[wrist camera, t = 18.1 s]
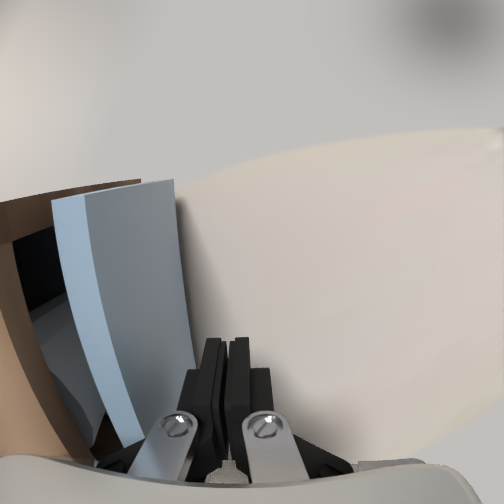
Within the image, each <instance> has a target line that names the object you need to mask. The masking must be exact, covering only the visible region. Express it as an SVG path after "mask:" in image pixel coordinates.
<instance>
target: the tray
mask: <svg viewBox="0 0 504 504" xmlns="http://www.w3.org/2000/svg"><path fill="white" fill-rule="evenodd" d="M51 202H52V211H53V219H54V226H51V227H48V228H45V229H43V230H40V231H37V232H35V233H32V234H30V235H27V236H24V237H22V238H19V239H17V240H14V241H12V245H13V251H14V256H15V261H16V266H17V270H18V274H19V279H20V283H21V287H22V291H23V294H24V298H25V302H26V305H27V309H28V312H31V311H32V310H34V309H36V308H38V307H39V306H41V305H43V304H45V303H46V302H48V301H50V300H52V299H53V298H55V297H57V296H59V295H60V294H62V293H64V292H66V291H67V294H68V298H69V302H70V306H71V310H72V314H73V317H74V321H75V324H76V328H77V331H78V334H79V338H80V341H81V344H82V347H83V350H84V353H85V356H86V359H87V362H88V365H89V368H90V370H91V373H92V376H93V378H94V381H95V384H96V386H97V389H98V391H99V394H100V396H101V399H102V401H103V403H104V406H105V408H106V410H105V413H104V415H109V417H110V419H111V422H112V424H113V426H114V428H115V430H116V432H117V434H118V437H119V439H120V441H121V443H122V445H123V447H124V448H126V447H128V446H130V445H132V444H134V443H136V442H138V441H140V440H142V439H144V438H146V437H147V436H148V434H149V432H150V431H151V429H152V427H153V425H154V423H155V421H156V420H157V419H158V418H159V417H160V416H161V415H163V414H165V413H167V412H170V411H176V409H177V405H178V402H179V398H180V394H181V391H182V387H183V383H184V380H185V376H186V373H187V370H188V369H196V364H195V359H194V353H193V347H192V340H191V334H190V327H189V321H188V314H187V307H186V299H185V292H184V284H183V276H182V267H181V259H180V249H179V240H178V230H177V219H176V207H175V194H174V181H173V179H171V180H161V181H152V182H145V183H139V184H133V185H127V186H121V187H115V188H110V189H104V190H99V191H94V192H88V193H83V194H79V195H74V196H69V197H64V198H60V199H55V200H51Z"/></svg>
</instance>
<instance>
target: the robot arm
mask: <svg viewBox="0 0 504 504" xmlns="http://www.w3.org/2000/svg"><path fill="white" fill-rule="evenodd" d="M229 444H230V450H231V457H232V460H235V461H236V467H237V469H239V470H240V471H242V472H243V473H244V474H246V475H247V479H248V484H217V483H209V482H210V478H211V474H210V473H211V472H213V471H214V470H216V469H217V468H222V460H228V449H229ZM0 504H482V502H481V500H480V499H479V497H478V495H477V494H476V492H475V491H474V489H473V488H472V487H471V485H470V484H469V483H468V482H467V480H466V479H465V478H464V477H463V476H462V475H461V474H460V473H459V472H458V471H456V470H455V469H453V468H450V467H448V466H444V465H436V464H426V463H425V462H423V461H422V460H419V459H413V458H409V459H398V460H382V461H359V462H358V464H349V463H348V462H347V461H345V460H343V459H341V458H339V457H337V456H335V455H333V454H331V453H329V452H327V451H325V450H323V449H321V448H319V447H317V446H315V445H313V444H311V443H309V442H307V441H305V440H303V439H301V438H300V437H298V436H296V435H294V434H292V432H291V429H290V427H289V424H288V422H287V420H286V419H285V417H284V416H282V415H281V414H279V413H277V412H274V407H273V398H272V388H271V378H270V369H269V368H251V367H250V349H249V337H236V338H235V341H230V346H229V356H228V355H227V345H226V341H221V338H207V339H206V343H205V348H204V352H203V357H202V361H201V366H200V369H188V370H187V373H186V376H185V380H184V383H183V387H182V391H181V394H180V398H179V402H178V405H177V409H176V411H170V412H167V413H165V414H163V415H161V416H160V417H159V418H158V419H157V420H156V421H155V423H154V425H153V427H152V429H151V431H150V432H149V434H148V436H147V437H146V438H144V439H142V440H140V441H138V442H136V443H134V444H132V445H130V446H128V447H126V448H123V449H121V450H119V451H117V452H115V453H113V454H110V455H108V456H106V457H104V458H103V459H101V460H100V461H97V460H96V459H95V458H80V457H65V456H53V455H51V456H44V455H39V454H30V453H14V454H8V455H4V456H2V457H0Z"/></svg>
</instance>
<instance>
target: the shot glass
mask: <svg viewBox="0 0 504 504" xmlns="http://www.w3.org/2000/svg"><path fill="white" fill-rule="evenodd" d="M29 315H30V319H31V322H32V325H33V328H34V331H35V334H36V337H37V340H38V342H39V345H40V348H41V351H42V353H43V356H44V358H45V361H46V363H47V366H48V368H49V371H50V373H51V376H52V378H53V380H54V382H55V385H56V387H57V389H58V391H59V393H60V396H61V398H62V400H63V402H64V404H65V406H66V408H67V410H68V412H69V414H70V416H71V418H72V420H73V422H74V423H75V425H76V427H77V429H78V431H79V433H80V434H81V436H82V438H83V440H84V441H85V443H86V445H87V447H88V448H89V449H90V448H91V447H92V446H93V444H94V442H95V439H96V436H97V433H98V430H99V427H100V424H101V421H102V419H103V416H104V413H105V410H106V408H105V406H104V403H103V401H102V399H101V396H100V394H99V391H98V389H97V386H96V384H95V381H94V378H93V376H92V373H91V370H90V368H89V365H88V362H87V359H86V356H85V353H84V350H83V347H82V344H81V341H80V338H79V334H78V331H77V328H76V324H75V321H74V317H73V314H72V310H71V306H70V302H69V298H68V294H67V291H66V292H64V293H62V294H60V295H59V296H57V297H55V298H53V299H52V300H50V301H48V302H46V303H45V304H43V305H41V306H39V307H38V308H36V309H34V310H32V311H31V312H29Z"/></svg>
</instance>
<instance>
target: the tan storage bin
mask: <svg viewBox="0 0 504 504" xmlns="http://www.w3.org/2000/svg"><path fill="white" fill-rule="evenodd" d="M139 183H141V179H134V180H126V181H118V182H111V183H103V184H97V185H91V186H84V187H77V188H71V189H66V190H60V191H54V192H49V193H43V194H38V195H33V196H28V197H23V198H19V199H14V200H9V201H5V202H0V457H2V456H4V455H8V454H14V453H30V454H39V455H44V456H51V455H53V456H65V457H80V458H95V459H96V460H97V461H100V460H101V459H103V458H104V457H106V456H108V455H110V454H113V453H115V452H117V451H119V450H121V449H123V448H124V447H123V445H122V443H121V441H120V439H119V437H118V434H117V432H116V430H115V428H114V426H113V424H112V422H111V419H110V417H109V415H104V416H103V419H102V421H101V424H100V427H99V430H98V433H97V436H96V439H95V442H94V444H93V446H92V447H91V448H90V449H89V448H88V447H87V445H86V443H85V441H84V440H83V438H82V436H81V434H80V433H79V431H78V429H77V427H76V425H75V423H74V422H73V420H72V418H71V416H70V414H69V412H68V410H67V408H66V406H65V404H64V402H63V400H62V398H61V396H60V393H59V391H58V389H57V387H56V385H55V382H54V380H53V378H52V376H51V373H50V371H49V368H48V366H47V363H46V361H45V358H44V356H43V353H42V351H41V348H40V345H39V342H38V340H37V337H36V334H35V331H34V328H33V325H32V322H31V319H30V315H29V312H28V309H27V305H26V302H25V298H24V294H23V291H22V287H21V283H20V279H19V274H18V270H17V266H16V261H15V256H14V251H13V245H12V241H14V240H17V239H19V238H22V237H24V236H27V235H30V234H32V233H35V232H37V231H40V230H43V229H45V228H48V227H51V226H54V219H53V211H52V202H51V200H55V199H60V198H64V197H69V196H74V195H79V194H83V193H88V192H94V191H99V190H104V189H110V188H115V187H121V186H127V185H133V184H139Z"/></svg>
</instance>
